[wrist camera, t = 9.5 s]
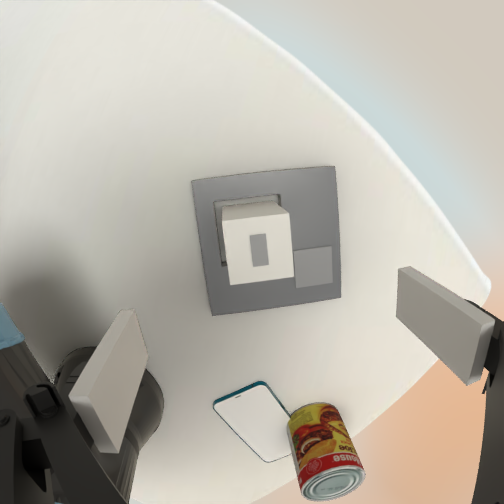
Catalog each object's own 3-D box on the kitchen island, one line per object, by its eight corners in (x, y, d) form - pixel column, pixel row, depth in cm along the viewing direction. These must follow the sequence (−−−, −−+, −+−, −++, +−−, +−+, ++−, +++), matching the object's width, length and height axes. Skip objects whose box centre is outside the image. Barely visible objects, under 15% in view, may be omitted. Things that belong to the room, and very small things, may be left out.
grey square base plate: (212, 309, 35) (212, 316, 33) (193, 180, 31) (191, 181, 30) (336, 292, 36) (341, 298, 34) (330, 166, 32) (335, 166, 30)
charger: (229, 254, 34) (230, 286, 25) (222, 206, 32) (221, 221, 24) (276, 248, 34) (294, 277, 25) (272, 200, 33) (289, 213, 24)
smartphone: (311, 441, 43) (263, 377, 38) (312, 445, 42) (264, 381, 38) (265, 459, 43) (209, 401, 39) (266, 463, 42) (209, 405, 38)
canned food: (346, 422, 42) (373, 481, 30) (300, 446, 42) (317, 507, 31) (326, 393, 40) (353, 458, 28) (275, 419, 40) (289, 487, 29)
